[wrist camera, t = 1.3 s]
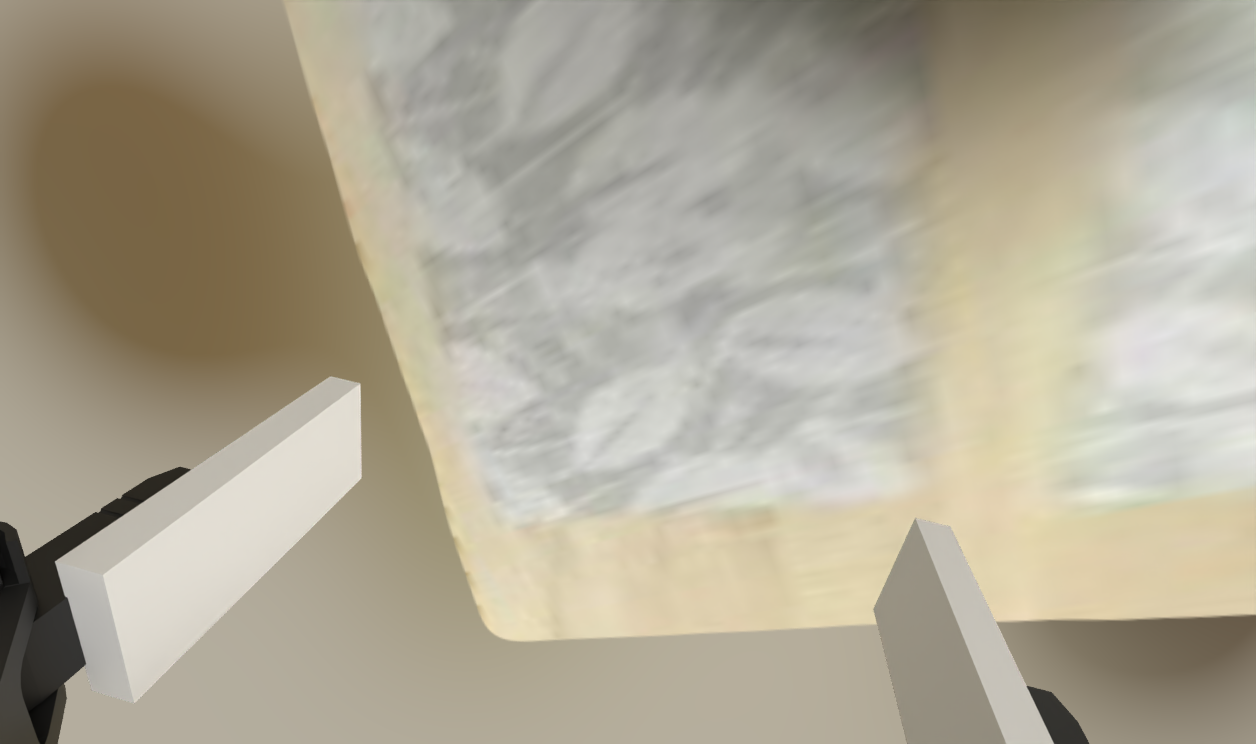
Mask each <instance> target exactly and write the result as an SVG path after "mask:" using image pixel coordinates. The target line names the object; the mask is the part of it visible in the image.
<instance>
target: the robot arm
mask: <svg viewBox="0 0 1256 744" xmlns="http://www.w3.org/2000/svg"><path fill="white" fill-rule="evenodd" d="M360 396H361V392H360V383H356V382H352V381H348V380H344V379H339V378H336V377H331V376H330V377H329V378H327V379H326V380H324V381H323V382H321V383H320V384H318V385H317V386H315V387H314V388H312V389H311V390H309V391H308V392H306V393H305V394H303V395H302V396H300V397H299V398H298V399H296V400H294V401H293V402H292V403H290V404H289V405H287V406H286V407H284V408H283V409H281V410H280V411H278V412H277V413H275V414H274V415H272V416H271V417H269V418H268V419H266V420H265V421H263V422H262V423H260V424H259V425H257V426H256V427H254V428H253V429H251V430H250V431H249V432H247V433H245V434H244V435H242V436H241V437H240V438H238V439H237V440H235V441H234V442H232V443H231V444H229V445H228V446H226V447H225V448H223V449H222V450H220V451H219V452H217V453H216V454H214V455H213V456H211V457H210V458H208V459H207V460H205V461H204V462H202V463H201V464H199V465H198V466H196V467H195V468H194V469H192V470H190V469H186V468H183V467H178V468H175V469H172V470H170V471H167V472H164V473H162V474H159V475H156V476H154V477H151V478H148V479H147V480H145V481H143V482H142V483H140V484H139V485H137V486H136V487H134V488H133V489H131V490H129V491H128V492H126V493H125V494H123V495H122V498H121V499H118V498H117V499H115V500H114V501H112V502H111V503H109V504H108V505H106V506H104V507H103V508H101V511H100V512H99V513H97V512H95V513H93V514H92V515H90V516H89V517H87V518H86V519H84V520H82V521H81V522H79V523H78V524H76V525H75V526H73V527H71V528H70V529H68V530H67V531H65V532H64V533H62V534H61V535H59V536H57V537H56V538H54V539H53V540H51V541H49V542H48V543H46V544H45V545H43V546H42V547H40V548H38V549H37V550H35V551H34V552H32V553H31V554H29V555H28V556H26V557H25V556H24V553H23V549H22V546H21V543H20V540H19V536H18V533H17V530H16V529H15V528H13V527H12V526H11V525H9V524H8V523H5V522H0V744H58V739H59V734H60V729H61V724H62V719H63V714H64V708H65V704H66V699H67V697H66V689H65V685H64V683H65V682H66V681H67V680H68V679H70V677H72V676H73V675H74V674H75V673H76V672H78V671H79V670H80V669H81V668H82V667H84V666H85V669H86V672H87V676H88V680H89V683H90V686H91V690H92V691H94V692H98V693H101V694H105V695H108V696H111V697H114V698H118V699H121V700H125V701H128V702H131V703H135V702H136V701H137V700H138V699H139V698H140V697H141V696H142V695H143V694H144V693H145V692H146V691H147V690H148V689H149V688H150V687H151V686H152V685H153V684H154V683H155V682H156V681H157V680H158V679H159V678H160V677H161V676H162V675H163V674H164V673H165V672H166V671H167V670H168V669H169V668H170V667H171V666H172V665H174V663H176V661H177V660H178V659H179V658H181V657H182V656H183V654H185V652H187V650H189V648H191V647H192V646H193V645H194V644H195V643H196V642H197V640H199V639H200V638H201V637H202V636H203V635H204V634H205V633H206V632H207V631H208V630H209V629H210V628H211V627H212V626H213V625H214V624H215V623H216V622H217V621H218V620H219V619H220V618H221V617H222V616H223V615H224V614H225V613H226V612H227V611H228V610H229V609H230V608H231V607H232V606H233V605H234V604H235V603H236V602H237V601H238V600H239V599H240V598H241V597H242V596H243V595H244V594H245V593H246V592H247V591H248V590H249V589H250V588H251V587H252V586H253V585H254V584H255V583H256V582H257V581H258V580H259V579H260V578H261V577H262V576H263V575H264V574H265V573H266V572H267V571H268V570H269V569H270V568H271V567H272V566H273V565H274V564H275V563H276V562H277V561H278V560H279V559H280V558H281V557H282V556H283V555H284V554H285V553H286V552H287V551H288V550H289V549H290V548H291V547H292V546H294V545H295V544H296V543H297V542H298V540H299V539H300V538H302V536H304V534H306V533H307V532H308V531H309V530H310V529H311V528H312V527H313V526H314V525H315V524H316V523H317V522H318V521H319V520H320V519H321V518H322V517H323V516H324V515H325V514H326V513H327V512H328V511H329V510H330V509H331V508H332V507H333V506H334V505H335V504H336V503H337V502H338V501H339V500H340V499H341V498H342V497H343V496H344V495H345V494H346V493H347V492H348V491H349V490H350V489H351V488H352V487H353V486H354V485H355V484H356V483H357V482H358V481H359V480H360V479H361V478H362V476H361V397H360ZM874 613H875V617H876V621H877V625H878V629H879V633H880V637H881V641H882V645H883V649H884V653H885V657H886V661H887V665H888V669H889V673H890V677H891V681H892V685H893V689H894V693H895V697H896V701H897V705H898V709H899V713H900V717H901V721H902V726H903V729H904V733H905V737H906V741H907V744H1089V742H1088V740H1087V738H1086V736H1085V734H1084V733H1083V731H1082V729H1081V727H1080V725H1079V723H1078V722H1077V720H1075V718H1074V717H1073V716H1072V715H1071V714H1070V713H1069V711H1068V710H1067V709H1066V708H1065V707H1064V706H1063V705H1062V703H1061V702H1060V701H1059V700H1058V699H1057V698H1056V697H1055V696H1054V695H1053V693H1052V692H1049V691H1045V690H1041V689H1037V688H1033V687H1029V686H1026V684H1025V682H1024V680H1023V678H1022V676H1021V674H1020V672H1019V669H1018V668H1017V666H1016V663H1015V661H1014V659H1013V657H1012V655H1011V653H1010V651H1009V648H1008V646H1007V644H1006V642H1005V640H1004V638H1003V636H1002V634H1001V632H1000V630H999V627H998V625H997V623H996V621H995V619H994V617H993V615H992V613H991V611H990V609H989V606H988V604H987V602H986V600H985V598H984V596H983V594H982V592H981V590H980V588H979V586H978V583H977V581H976V579H975V577H974V575H973V573H972V571H971V569H970V567H969V565H968V562H967V560H966V558H965V556H964V554H963V552H962V550H961V548H960V546H959V544H958V541H957V539H956V537H955V535H954V533H953V531H952V529H951V527H950V526H946V525H942V524H938V523H934V522H930V521H926V520H921V519H917V518H915V520H914V522H913V524H912V526H911V528H910V531H909V533H908V535H907V537H906V539H905V541H904V544H903V546H902V548H901V550H900V552H899V554H898V557H897V559H896V561H895V563H894V565H893V568H892V570H891V572H890V574H889V576H888V578H887V581H886V583H885V585H884V587H883V589H882V591H881V594H880V596H879V598H878V600H877V602H876V605H875V607H874Z"/></svg>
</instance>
